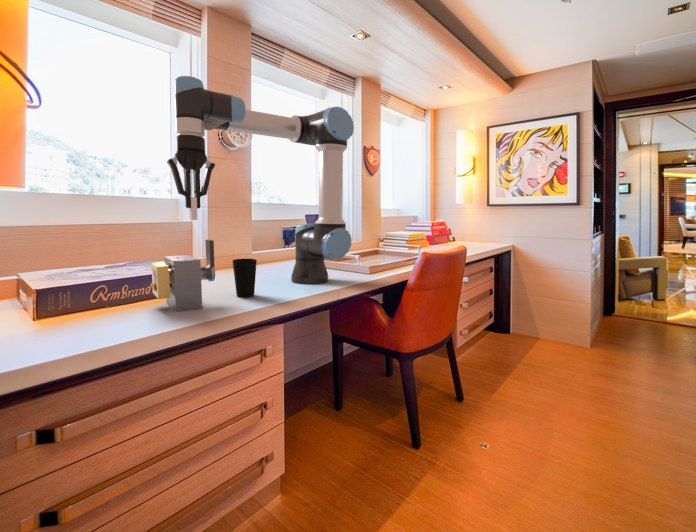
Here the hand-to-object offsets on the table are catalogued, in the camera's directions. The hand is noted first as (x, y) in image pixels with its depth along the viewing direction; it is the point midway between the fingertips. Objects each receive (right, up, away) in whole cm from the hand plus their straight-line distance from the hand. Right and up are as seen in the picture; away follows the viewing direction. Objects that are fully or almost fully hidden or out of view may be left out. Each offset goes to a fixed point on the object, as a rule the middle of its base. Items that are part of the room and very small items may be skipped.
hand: (193, 219), depth 110 cm
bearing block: (-3, -25, +1) cm, 25 cm away
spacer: (-8, -22, -3) cm, 24 cm away
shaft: (-3, -19, +1) cm, 19 cm away
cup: (+11, -24, +15) cm, 30 cm away
